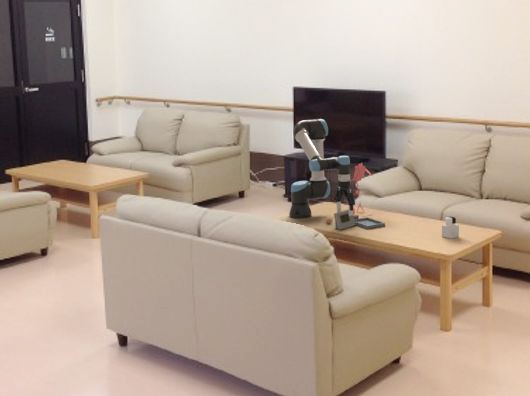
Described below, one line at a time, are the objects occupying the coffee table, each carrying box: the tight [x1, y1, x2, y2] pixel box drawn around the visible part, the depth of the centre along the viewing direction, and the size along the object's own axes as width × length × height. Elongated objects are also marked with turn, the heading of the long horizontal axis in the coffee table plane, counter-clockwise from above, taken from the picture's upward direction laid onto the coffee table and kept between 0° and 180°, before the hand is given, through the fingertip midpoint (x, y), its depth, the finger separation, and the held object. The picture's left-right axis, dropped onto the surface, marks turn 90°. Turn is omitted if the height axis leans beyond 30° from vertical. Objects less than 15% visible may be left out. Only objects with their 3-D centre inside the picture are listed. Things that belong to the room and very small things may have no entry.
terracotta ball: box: [325, 217, 333, 225], centre depth 511 cm, size 4×4×4 cm
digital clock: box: [333, 208, 356, 231], centre depth 499 cm, size 16×9×11 cm, turn 122°
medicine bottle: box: [441, 216, 460, 240], centre depth 467 cm, size 7×7×12 cm
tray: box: [354, 216, 386, 230], centre depth 504 cm, size 13×19×2 cm
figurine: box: [349, 162, 373, 217], centre depth 530 cm, size 15×26×35 cm, turn 135°
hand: (344, 213), depth 498 cm, fingers open, 13 cm apart
